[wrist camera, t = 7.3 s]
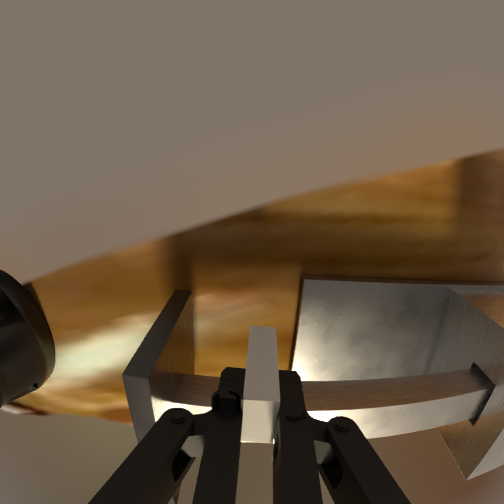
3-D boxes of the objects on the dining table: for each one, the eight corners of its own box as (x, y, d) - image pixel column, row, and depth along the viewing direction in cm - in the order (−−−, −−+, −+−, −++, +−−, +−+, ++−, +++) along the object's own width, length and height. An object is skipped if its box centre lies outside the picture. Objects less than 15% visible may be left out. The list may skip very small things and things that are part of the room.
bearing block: (285, 400, 28) (296, 517, 15) (302, 275, 25) (344, 380, 12) (486, 380, 28) (541, 445, 15) (522, 282, 25) (602, 332, 12)
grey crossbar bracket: (183, 414, 24) (158, 505, 15) (175, 289, 21) (122, 374, 12) (455, 404, 24) (497, 467, 15) (496, 299, 21) (567, 351, 12)
